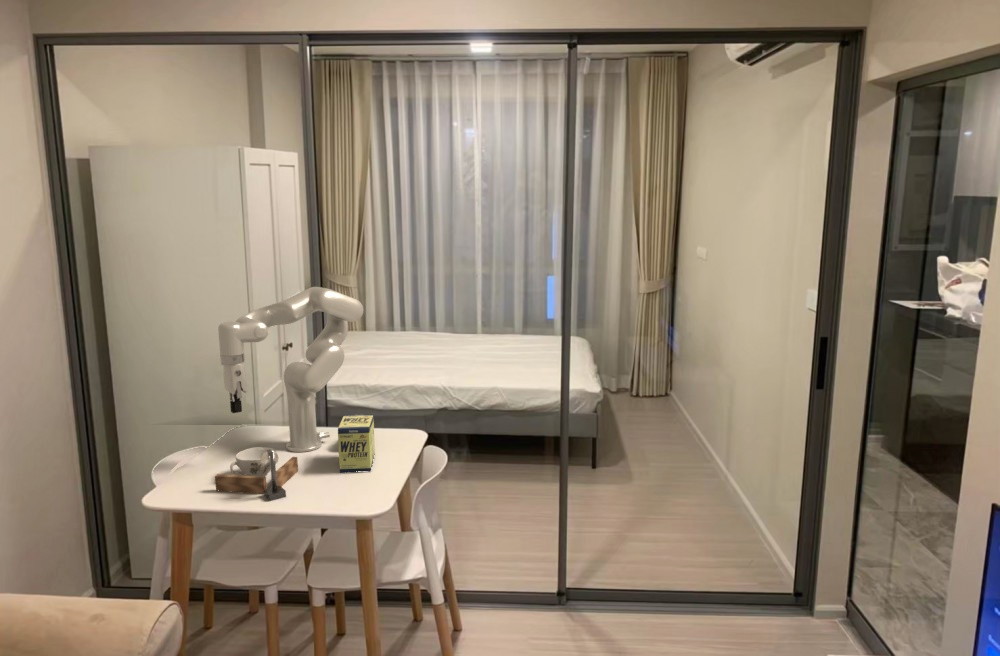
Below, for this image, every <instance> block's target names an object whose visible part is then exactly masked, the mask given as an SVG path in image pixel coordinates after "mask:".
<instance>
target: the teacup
mask: <svg viewBox="0 0 1000 656" xmlns="http://www.w3.org/2000/svg"><path fill="white" fill-rule="evenodd" d="M267 450H272V451H274V452H276V453H277V450H276V449H275V448H272V447H268V446H267V447H264V446H263V447H262V446H257V447H256V446H255V447H250V448H247V449H244V450H241V451H239V452H237V454H236V455H235V461H232V462H231V463H230V466H229V469H230V471H231V473H233V475H243V476H262V477H267V475H268V474H269V473H270V472H271V468H267V467H264V466H263V465H262V464H261V462H260V458H261V455H262V454H263V453H264V452H265V451H267ZM234 466H237V467H238V469H239V470H240V471H235V470H234Z"/></svg>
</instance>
